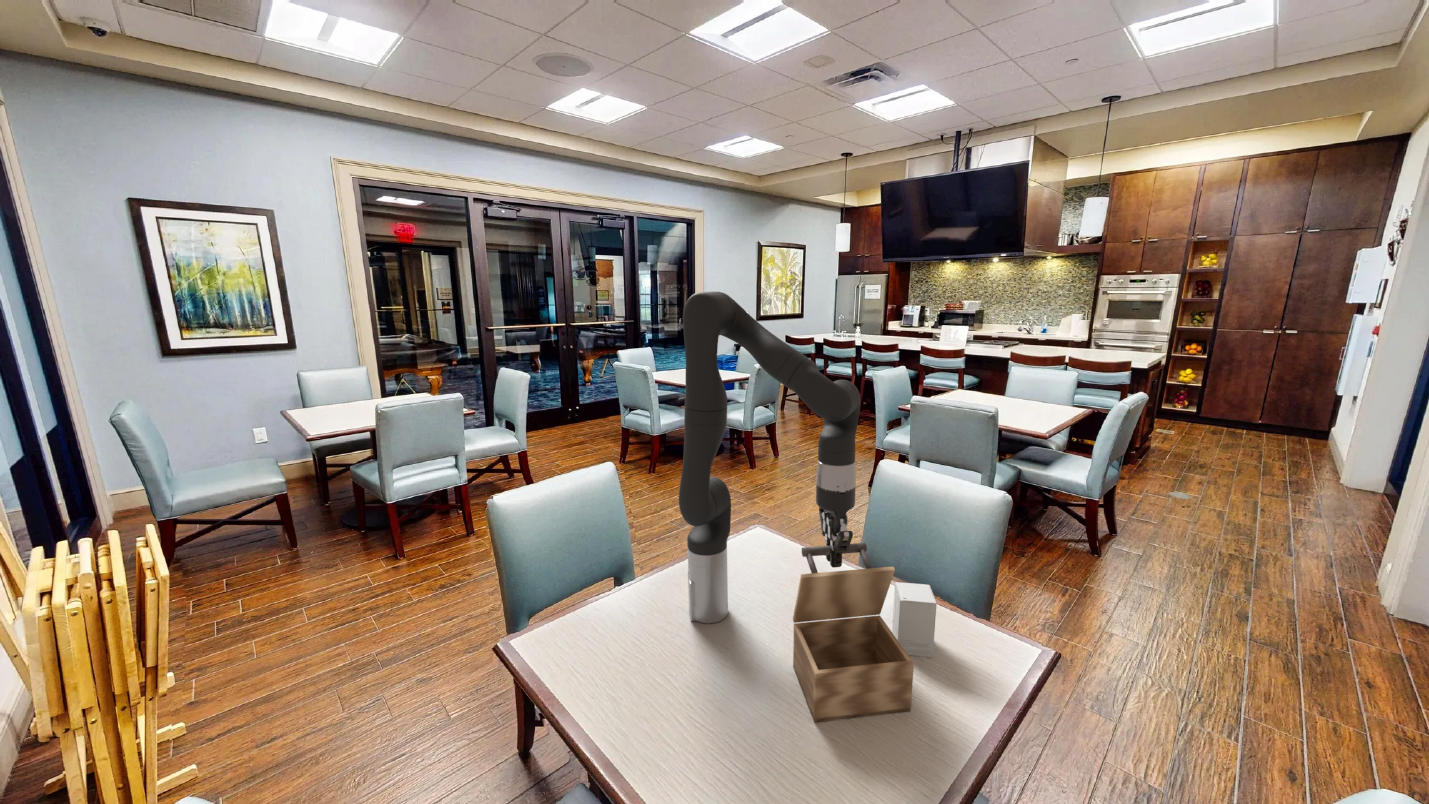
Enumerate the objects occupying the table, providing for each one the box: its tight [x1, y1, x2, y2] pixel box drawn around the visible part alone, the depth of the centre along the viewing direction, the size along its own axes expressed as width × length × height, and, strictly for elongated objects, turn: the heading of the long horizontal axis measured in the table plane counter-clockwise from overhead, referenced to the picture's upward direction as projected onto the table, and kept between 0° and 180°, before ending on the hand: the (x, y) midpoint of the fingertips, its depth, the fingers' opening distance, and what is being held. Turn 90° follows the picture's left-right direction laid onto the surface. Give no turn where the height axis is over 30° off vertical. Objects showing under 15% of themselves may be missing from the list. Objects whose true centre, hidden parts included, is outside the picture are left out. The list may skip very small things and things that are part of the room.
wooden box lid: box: [792, 542, 896, 624], centre depth 104 cm, size 18×14×9 cm
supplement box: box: [891, 581, 938, 658], centre depth 110 cm, size 7×7×13 cm
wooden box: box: [792, 614, 915, 724], centre depth 98 cm, size 18×14×10 cm
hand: (833, 563), depth 105 cm, fingers closed on wooden box lid, 2 cm apart
